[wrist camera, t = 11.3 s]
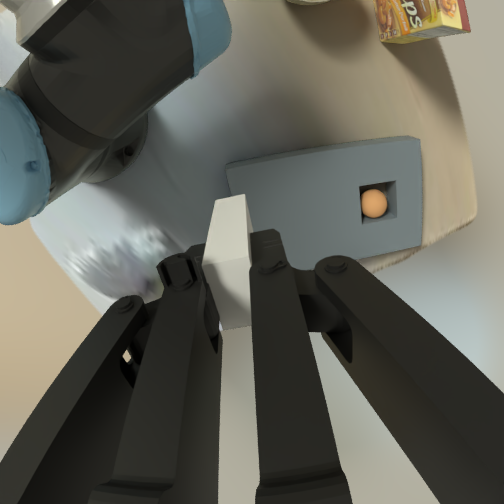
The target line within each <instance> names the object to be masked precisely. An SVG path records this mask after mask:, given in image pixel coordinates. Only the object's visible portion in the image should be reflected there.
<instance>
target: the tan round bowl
mask: <svg viewBox="0 0 504 504" xmlns="http://www.w3.org/2000/svg"><path fill="white" fill-rule="evenodd" d="M286 1H289V2H291V3H295V4H299V5H317V4H322V3H325V2H328V1H331V0H286Z"/></svg>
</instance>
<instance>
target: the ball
mask: <svg viewBox="0 0 504 504" xmlns="http://www.w3.org/2000/svg"><path fill="white" fill-rule="evenodd" d="M360 205H361V211H362V212H363V213H364V214H365V215H366V216H368V217H371V218H376V217H379V216H381V215H382V214H383V213H384V212H385V211H386V208H387V199H386V197H385V195H384V194H383V193H382V192H381V191H379V190H376V189H369V190H367V191H365V192H364V193H363V194H362V195H361V197H360Z"/></svg>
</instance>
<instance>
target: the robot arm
mask: <svg viewBox="0 0 504 504" xmlns="http://www.w3.org/2000/svg"><path fill="white" fill-rule="evenodd" d="M0 4H1V5H3V6H4V7H5V8H7V9H8V10H10V11H11V12H12V13H14V14H15V17H16V20H17V23H16V42H17V43H18V44H19V45H20V46H21V47H23V48H24V49H26V50H27V51H29V52H30V54H29V55H28V57H27V58H26V59H25V60H24V62H23V63H22V64H21V65H20V67H19V68H18V69H17V70H16V72H15V73H14V74H13V76H12V77H11V78H10V80H9V81H8V82H7V84H6V85H5V86H4V87H0V223H1V224H3V225H14V224H18V223H20V222H23V221H24V220H26V219H28V218H29V217H34V216H36V215H37V214H39V213H41V212H42V211H43V209H44V208H45V207H46V206H47V205H48V204H50V203H51V202H53V201H54V200H56V199H57V198H58V197H60V196H61V195H63V194H64V193H66V192H67V191H69V190H70V189H72V188H73V187H75V186H76V185H78V184H79V183H81V182H85V183H97V182H102V181H106V180H108V179H111V178H113V177H115V176H117V175H118V174H120V173H121V172H122V171H124V170H125V169H126V168H128V167H129V166H130V165H131V164H132V163H133V162H134V160H135V159H136V158H137V156H138V155H139V153H140V151H141V149H142V147H143V145H144V142H145V139H146V135H147V127H148V118H147V111H149V110H150V109H151V108H152V107H153V106H155V105H156V104H157V103H158V102H159V101H161V100H162V99H163V98H164V97H166V96H167V95H168V94H169V93H171V92H172V91H173V90H174V89H176V88H177V87H178V86H180V85H181V84H182V83H184V82H185V81H186V80H188V79H189V78H190V79H193V78H195V77H196V76H197V75H198V73H199V71H200V70H201V69H202V68H204V67H205V66H206V65H208V64H209V63H210V62H212V61H213V60H214V59H216V58H217V57H218V56H220V55H221V54H222V53H224V51H225V50H226V49H227V48H228V46H229V44H230V41H231V36H232V27H231V22H230V18H229V15H228V12H227V10H226V7H225V4H224V2H223V0H0ZM156 268H157V270H158V273H159V275H160V278H161V280H162V283H163V285H164V291H163V294H162V297H161V298H160V299H157V300H155V301H152V302H149V303H147V304H145V303H144V301H143V299H142V298H141V297H140V296H137V295H131V296H125V297H122V298H120V299H119V300H118V301H116V302H115V303H114V304H113V305H111V306H110V308H109V309H108V310H107V311H106V313H105V314H104V315H103V316H102V318H101V319H100V320H99V321H98V323H97V324H96V325H95V327H94V328H93V329H92V330H91V332H90V333H89V334H88V336H87V337H86V338H85V340H84V341H83V342H82V343H81V345H80V346H79V348H78V349H77V350H76V351H75V353H74V354H73V356H72V357H71V358H70V359H69V361H68V362H67V364H66V365H65V366H64V368H63V369H62V370H61V372H60V373H59V375H58V376H57V377H56V379H55V380H54V382H53V383H52V384H51V386H50V387H49V389H48V390H47V392H46V393H45V394H44V396H43V397H42V399H41V400H40V402H39V403H38V404H37V406H36V408H35V409H34V411H33V412H32V414H31V415H30V417H29V418H28V419H27V421H26V423H25V424H24V426H23V427H22V429H21V430H20V432H19V434H18V435H17V437H16V438H15V440H14V441H13V443H12V444H11V446H10V448H9V449H8V451H7V453H6V454H5V456H4V458H3V459H2V461H1V462H0V504H218V468H219V465H218V464H219V426H220V394H221V368H222V344H223V340H222V336H221V333H220V330H219V321H220V323H221V325H222V328H223V330H228V329H234V328H240V327H246V326H252V342H253V360H254V379H255V398H256V416H257V432H258V452H259V469H260V483H259V486H258V487H257V489H256V496H255V504H353V503H352V499H351V494H350V490H349V486H348V482H347V479H346V476H345V474H344V472H343V471H342V468H341V465H340V461H339V456H338V452H337V447H336V443H335V438H334V434H333V430H332V426H331V421H330V417H329V413H328V408H327V404H326V400H325V396H324V392H323V388H322V384H321V380H320V376H319V372H318V368H317V364H316V360H315V356H314V352H313V348H312V344H311V340H310V336H309V333H308V332H321V335H322V337H323V339H324V340H325V342H326V343H327V344H328V346H329V347H330V349H331V350H332V351H333V353H334V354H335V356H336V357H337V358H338V360H339V361H340V363H341V364H342V365H343V367H344V368H345V370H346V371H347V372H348V374H349V375H350V376H351V378H352V379H353V381H354V382H355V384H356V385H357V386H358V388H359V389H360V391H361V392H362V393H363V395H364V396H365V398H366V399H367V400H368V402H369V403H370V405H371V406H372V407H373V409H374V410H375V412H376V413H377V415H378V416H379V417H380V419H381V420H382V422H383V423H384V424H385V426H386V427H387V428H388V430H389V431H390V433H391V434H392V436H393V437H394V438H395V440H396V441H397V443H398V444H399V446H400V447H401V448H402V450H403V451H404V453H405V454H406V455H407V457H408V458H409V460H410V461H411V462H412V464H413V465H414V467H415V468H416V470H417V471H418V472H419V474H420V475H421V477H422V478H423V480H424V481H425V482H426V484H427V485H428V487H429V488H430V490H431V491H432V493H433V494H434V495H435V497H436V498H437V499H438V501H439V503H440V504H504V393H503V392H502V391H501V390H500V389H499V388H498V387H497V386H495V385H494V383H493V382H491V381H490V380H489V379H488V378H487V377H486V376H485V375H484V374H483V373H482V372H481V371H480V370H479V369H478V368H477V367H476V366H475V365H474V364H473V363H472V362H471V361H470V360H469V359H468V358H467V357H465V356H464V355H463V354H462V353H461V352H460V351H459V350H458V349H457V348H456V347H455V346H454V345H452V344H451V343H450V342H449V341H448V340H447V339H446V338H445V337H444V336H443V335H442V334H440V333H439V332H438V331H437V330H436V329H435V328H434V327H433V326H431V325H430V324H429V323H428V322H427V321H426V320H425V319H424V318H423V317H421V316H420V315H419V314H418V313H417V312H416V311H415V310H414V309H412V308H411V307H410V306H409V305H408V304H407V303H405V302H404V301H403V300H402V299H401V298H399V297H398V296H397V295H396V294H395V293H394V292H393V291H391V290H390V289H389V288H388V287H387V286H386V285H384V284H383V283H382V282H380V280H378V279H377V278H376V277H375V276H374V275H372V274H371V273H370V272H369V271H368V270H366V269H365V268H364V267H363V266H361V265H360V264H359V263H358V262H357V261H355V260H354V259H352V258H350V257H347V256H342V255H333V256H330V257H326V258H323V259H321V260H319V261H318V262H317V263H316V264H315V268H314V270H300V269H296V268H294V267H292V266H291V265H290V263H289V262H288V260H287V257H286V253H285V250H284V246H283V243H282V239H281V236H280V232H278V231H277V230H275V229H268V230H263V231H258V232H253V228H252V223H251V219H250V214H249V210H248V205H247V201H246V196H245V194H242V195H237V196H232V197H228V198H223V199H218V200H215V205H214V209H213V214H212V218H211V223H210V227H209V232H208V237H207V242H206V243H204V244H199V245H194V246H191V247H190V248H189V249H188V250H187V251H186V252H185V253H178V254H175V255H172V256H169V257H167V258H165V259H164V260H162V261H161V262H160V263H159V264H158V265H157V267H156ZM126 350H128V352H129V354H130V355H131V359H130V361H129V362H126V361H125V360H124V358H123V354H124V353H125V351H126Z"/></svg>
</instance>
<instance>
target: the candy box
mask: <svg viewBox="0 0 504 504" xmlns="http://www.w3.org/2000/svg"><path fill="white" fill-rule="evenodd" d="M373 2H374V7H375V12H376V18H377V23H378V29H379V35H380V41H381V42H389V43H399V44H406V43H411V42H416V41H420V40H425V39H430V38H436V37H442V36H448V35H455V34H461V33H470V32H471V30H470V25H469V20H468V15H467V10H466V6H465V1H464V0H373Z"/></svg>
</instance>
